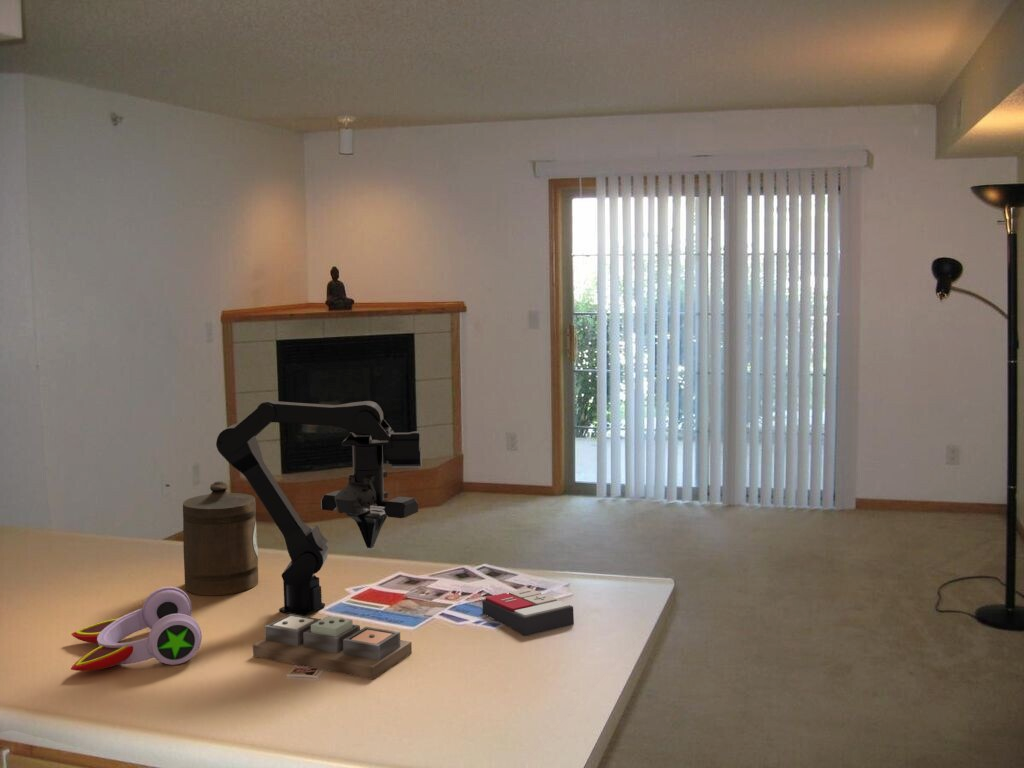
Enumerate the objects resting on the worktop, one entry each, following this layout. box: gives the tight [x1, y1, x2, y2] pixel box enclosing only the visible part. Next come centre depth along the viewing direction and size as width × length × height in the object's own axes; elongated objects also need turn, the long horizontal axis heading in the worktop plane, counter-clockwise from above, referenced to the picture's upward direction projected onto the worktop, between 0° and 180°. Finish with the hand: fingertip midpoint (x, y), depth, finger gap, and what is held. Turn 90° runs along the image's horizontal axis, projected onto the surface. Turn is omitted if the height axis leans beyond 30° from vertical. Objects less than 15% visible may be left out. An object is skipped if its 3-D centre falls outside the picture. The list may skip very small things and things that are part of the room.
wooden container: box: [182, 480, 259, 597], centre depth 208 cm, size 15×15×22 cm
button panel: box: [252, 613, 413, 680], centre depth 169 cm, size 24×12×4 cm, turn 65°
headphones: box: [70, 586, 203, 672], centre depth 172 cm, size 20×10×20 cm
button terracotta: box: [351, 630, 393, 644], centre depth 166 cm, size 5×5×2 cm
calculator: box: [481, 587, 575, 637], centre depth 187 cm, size 11×4×15 cm
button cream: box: [273, 616, 314, 630], centre depth 173 cm, size 5×5×2 cm
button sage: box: [311, 615, 354, 637], centre depth 169 cm, size 5×5×2 cm
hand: (370, 547), depth 192 cm, fingers closed
